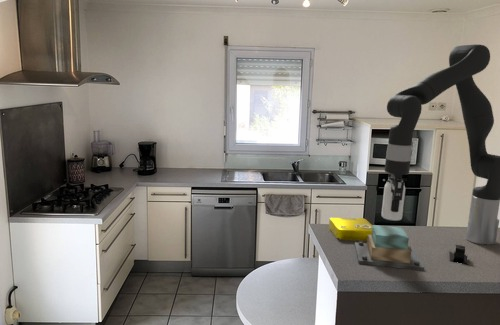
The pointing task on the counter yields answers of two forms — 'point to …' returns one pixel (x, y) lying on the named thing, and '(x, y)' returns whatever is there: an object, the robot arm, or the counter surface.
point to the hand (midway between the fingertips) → (392, 208)
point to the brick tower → (388, 249)
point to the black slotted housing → (458, 255)
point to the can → (388, 201)
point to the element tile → (350, 228)
